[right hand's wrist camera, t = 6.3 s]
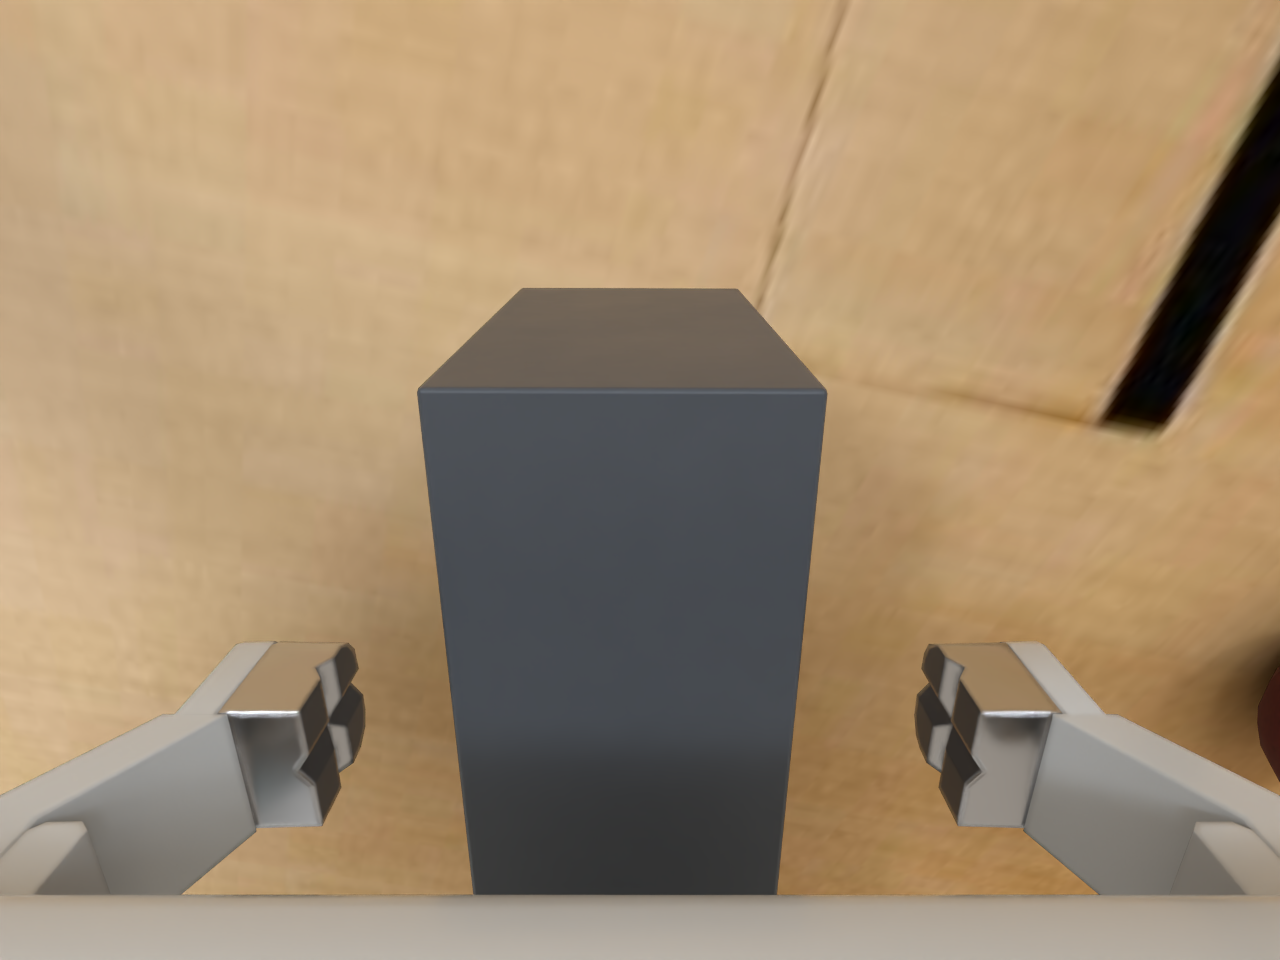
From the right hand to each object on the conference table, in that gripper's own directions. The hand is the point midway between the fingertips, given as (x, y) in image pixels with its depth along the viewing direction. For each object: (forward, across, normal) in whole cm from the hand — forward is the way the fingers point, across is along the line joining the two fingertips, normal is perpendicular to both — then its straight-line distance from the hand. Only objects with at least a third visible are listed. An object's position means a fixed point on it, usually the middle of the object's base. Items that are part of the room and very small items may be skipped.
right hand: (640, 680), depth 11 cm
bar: (+7, 0, -8) cm, 11 cm away
